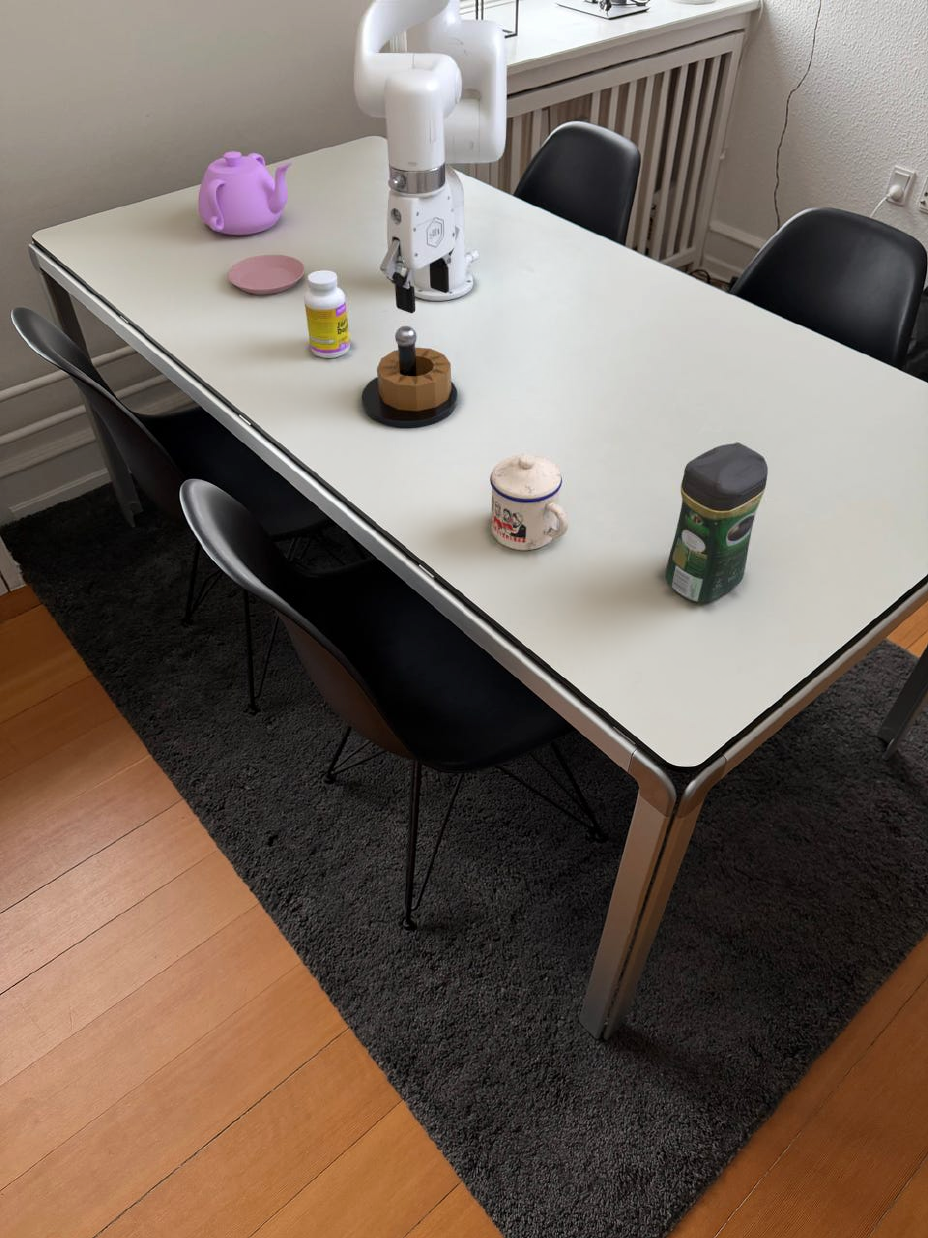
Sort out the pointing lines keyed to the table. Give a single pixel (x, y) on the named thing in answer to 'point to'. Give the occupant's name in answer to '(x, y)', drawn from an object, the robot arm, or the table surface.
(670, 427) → the table surface
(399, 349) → the stand
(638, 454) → the table surface
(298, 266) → the plate
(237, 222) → the teapot
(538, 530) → the teacup with lid
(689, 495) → the coffee jar
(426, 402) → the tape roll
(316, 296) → the supplement bottle
